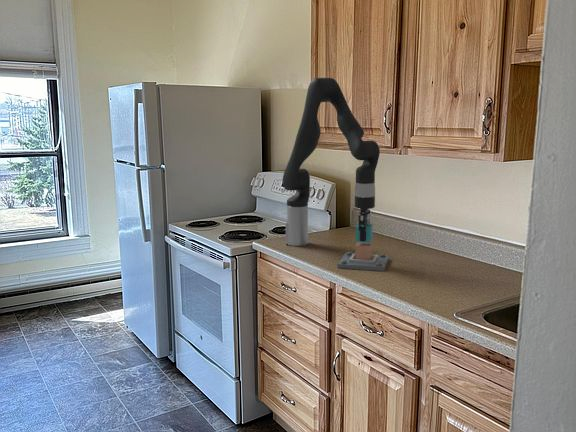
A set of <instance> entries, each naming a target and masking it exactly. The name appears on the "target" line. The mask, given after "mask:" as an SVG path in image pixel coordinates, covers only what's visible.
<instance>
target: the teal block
mask: <svg viewBox="0 0 576 432" xmlns="http://www.w3.org/2000/svg"><path fill="white" fill-rule="evenodd" d="M373 226H374V225H373V223H370V224H368V225H367V227H366V229H367V231H366V241H360V231H359V222H358V223H356V226H355V243H358V242H362V243H372V241H373ZM361 227H364V225H362V226H361Z"/></svg>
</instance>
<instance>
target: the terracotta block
mask: <svg viewBox="0 0 576 432" xmlns="http://www.w3.org/2000/svg"><path fill="white" fill-rule="evenodd" d="M354 252H355V259H360V260H371V259H372V254H373V243H372V242H371V243H366V242H356V244H355V251H354Z"/></svg>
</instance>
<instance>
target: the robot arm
mask: <svg viewBox="0 0 576 432" xmlns="http://www.w3.org/2000/svg"><path fill="white" fill-rule="evenodd" d="M321 103H330V104H331V105H332V106H333V107H334V109H335V110H336V121H337V126H338V128H339V130H340V132H341V133H342V135H343V136H344V138H345V139H346V141H347V145H348V148H349V151H350V154H351V155H352V157H353V158H354V159H355V160H357V161H362V164H361V165H360V166H358V167H357V168H356V169H355V185H354V207H355V209H360V211H359V212H358V223H359V231H360V241H366V231H367V229H366V227H367V225H368V224H371V209H374V208H375V207H376V181H375V179H376V177H375V176H376V169H377V166H378V163H379V162H378V161H379V157H380V147H379V144H378V143H377V141H375V140H363V139H362V138H363V137H364V134H365V132H364V129H363V128H362V126H361V125H360V123H359V121H358V120H357V119H356V117H355V116H354V113H353V112H352V111H351V109H350V107H349V105H348V102H347V100H346V97H345V95H344V93H343V91H342V89H341V87H340V85H339V82H337V80H336V79H334V78H332V77H315V78H313V79H312V80H310V82H309V85H308V88H307V93H306V97H305V102H304V109H303V113H302V117H301V120H300V124H299V127H298V130H297V132H296V133H297V134H296V136H295V141H294V144H293V149H292V151H291V153H290V154H291V155H290V157H289V159H288V161H287V164H286V166H285V169H284V172H283V175H282V186H283V188H284V189H285V190H286V191H291V192H292V191H293V192H294V191H296V192H295V193H294V194H293V195H292V196H291V197H288V198H287V200H286V223H285V245H287V244H288V246H294V247H300V246H301V247H302V246H303V247H304V246H306V245H308V244H309V237H308V236H309V227H308V226H309V200H310V187H311V186H310V185H311V178H310V174H309V171H308V170H307V169H306V168H301V167H302V165H303V164H304V162H305V161H306V160H307V159H308V158H309V157H310V156H311V155H312V153H314V151H315V150H316V148H317V146H318V143H319V140H320V138H321V126H320V123H319V119H318V113H319V108H320V105H321ZM362 225H364V227H361V226H362Z"/></svg>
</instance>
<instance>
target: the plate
mask: <svg viewBox="0 0 576 432" xmlns="http://www.w3.org/2000/svg"><path fill="white" fill-rule="evenodd" d="M388 262H389V255H386V254H385V253H380V254H373V253H372V259H371V260H360V259H355V253H353V252H352V251H346V252H345V253H344V254H343V256H342V257H341V259H340V260H339V261H338V262H337V264H336V265H337V268H338V269H347V270H348V269H350V270H361V271H363V270H364V271H378V272H385V270H386V266H387V264H388Z"/></svg>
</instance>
